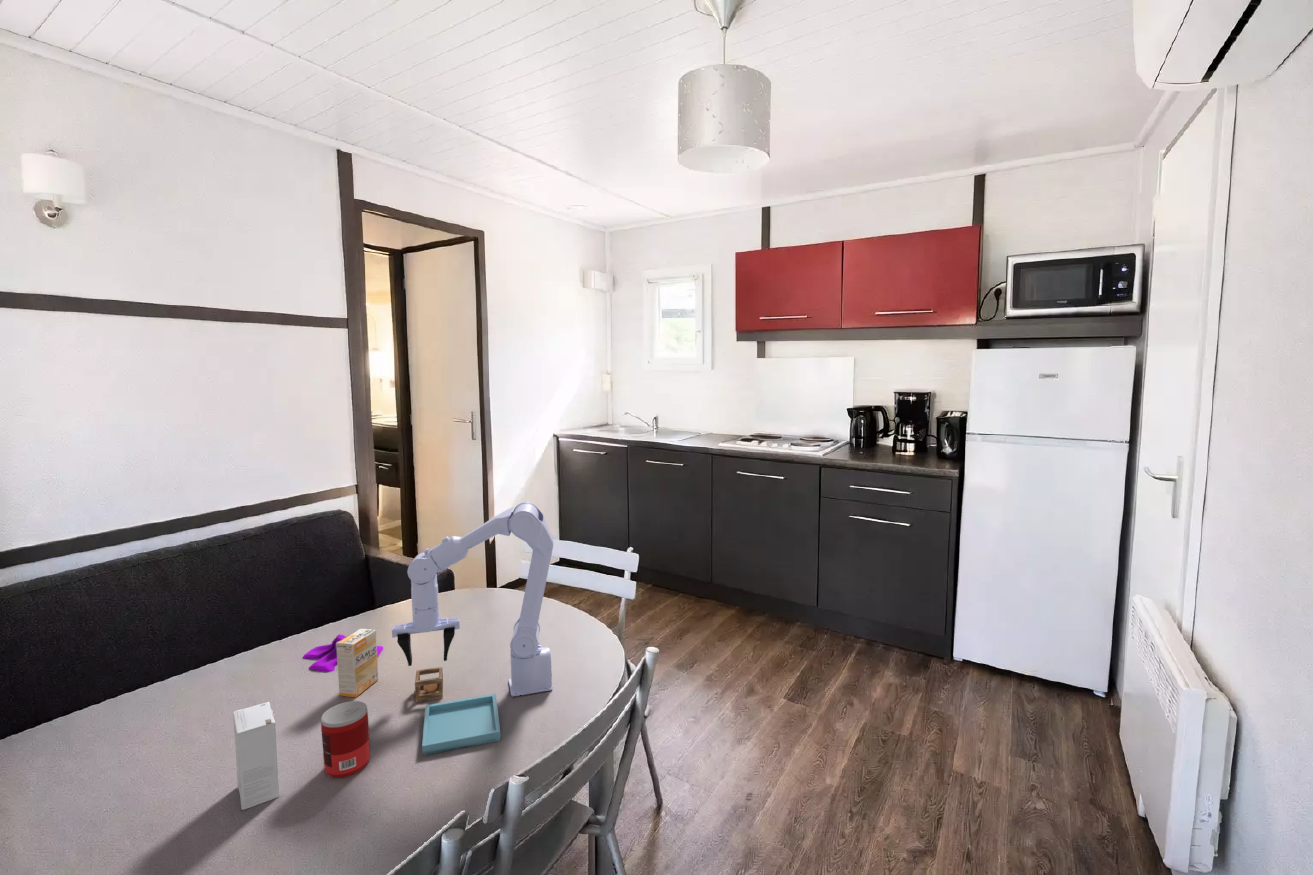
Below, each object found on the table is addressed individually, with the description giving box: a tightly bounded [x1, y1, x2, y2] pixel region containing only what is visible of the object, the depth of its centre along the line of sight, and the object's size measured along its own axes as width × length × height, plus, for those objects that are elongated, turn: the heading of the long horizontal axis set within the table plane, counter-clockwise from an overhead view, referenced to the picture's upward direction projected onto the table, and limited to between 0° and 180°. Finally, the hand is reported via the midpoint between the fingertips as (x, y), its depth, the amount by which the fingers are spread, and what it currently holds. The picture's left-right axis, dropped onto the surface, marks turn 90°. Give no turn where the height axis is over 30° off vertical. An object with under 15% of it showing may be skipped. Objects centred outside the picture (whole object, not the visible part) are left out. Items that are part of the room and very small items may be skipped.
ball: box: [424, 683, 437, 693], centre depth 141 cm, size 3×3×3 cm
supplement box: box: [336, 628, 379, 698], centre depth 143 cm, size 8×5×13 cm, turn 168°
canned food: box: [320, 700, 371, 779], centre depth 115 cm, size 8×8×11 cm
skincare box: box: [232, 701, 280, 811], centre depth 108 cm, size 8×6×15 cm
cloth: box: [302, 633, 384, 673], centre depth 161 cm, size 22×19×6 cm
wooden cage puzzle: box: [414, 666, 444, 703], centre depth 141 cm, size 6×6×5 cm
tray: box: [421, 693, 501, 756], centre depth 128 cm, size 15×15×2 cm
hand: (428, 661), depth 140 cm, fingers open, 7 cm apart
